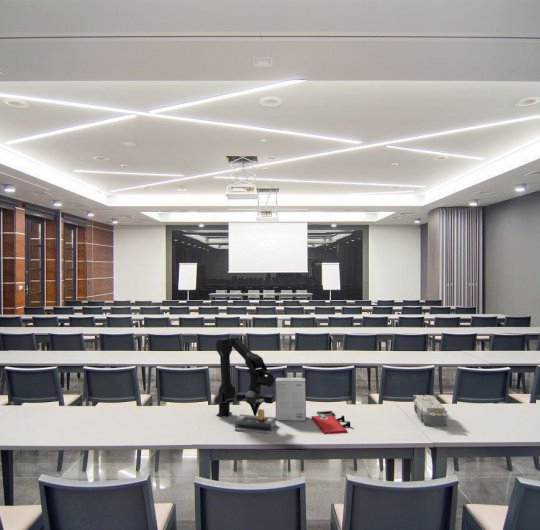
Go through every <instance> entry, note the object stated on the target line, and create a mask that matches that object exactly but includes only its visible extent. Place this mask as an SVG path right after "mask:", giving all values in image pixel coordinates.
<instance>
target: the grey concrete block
mask: <svg viewBox="0 0 540 530" xmlns="http://www.w3.org/2000/svg"><path fill="white" fill-rule="evenodd" d="M412 396H413V397H415V399H413V408H414V409H413V411H414V413H415V414H416V416H417V419H419V421H420V422H423V426H427V427H444V426H445V425H446V426H447V419H448V418H447V417H449V414H448V411H447V410H446V407H445V406H444V405H443V404H441V402H440V401H439V400H438V399H437V398H436V397H435V396H434V395H431V394H430V395H429V394H424V395H423V394H420V395H419V394H413V395H412Z"/></svg>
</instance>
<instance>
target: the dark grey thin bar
mask: <svg viewBox="0 0 540 530" xmlns="http://www.w3.org/2000/svg"><path fill="white" fill-rule="evenodd" d="M234 431H235V432H243V433H250V434H251V433H254V434H262V435H268V434H269V431H268V430H263V429H253V428H243V427H235V426H234Z"/></svg>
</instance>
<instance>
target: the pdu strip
mask: <svg viewBox="0 0 540 530" xmlns="http://www.w3.org/2000/svg"><path fill="white" fill-rule="evenodd" d="M276 425H277V420H276V417H272V416H264V419H263V420H259V419H258V415H256V416H254V414H252V415H250V414H240V415H238V417H237V418H235V419H234V428H235V427H243V428H253V429H263V430H268V432H272V431H273V429H274V428H275V427H276Z"/></svg>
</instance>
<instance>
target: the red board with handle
mask: <svg viewBox="0 0 540 530" xmlns="http://www.w3.org/2000/svg"><path fill="white" fill-rule="evenodd" d="M316 413H317V414H318V415H312V416H311V420H312V421H313V420H314V421H313V422H314V423H315V424H316V426H317V428H319V430H320V431H321V432H322V434H324V435H327V434H330V435H331V434H343V433H344V434H346V433H348V430H347V429H346V428H345V427H347V428H348V427H350V428H351V422H350V421H349V420H348V421H346V420H345V416H344V415H341V417H338V418H336V417H335V416H336V414H335V413H334V412H333V411H332V410H322V411H316ZM340 421H341V422H343V424H342V423H341V422H340ZM345 421H346V423H344V422H345Z"/></svg>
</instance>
